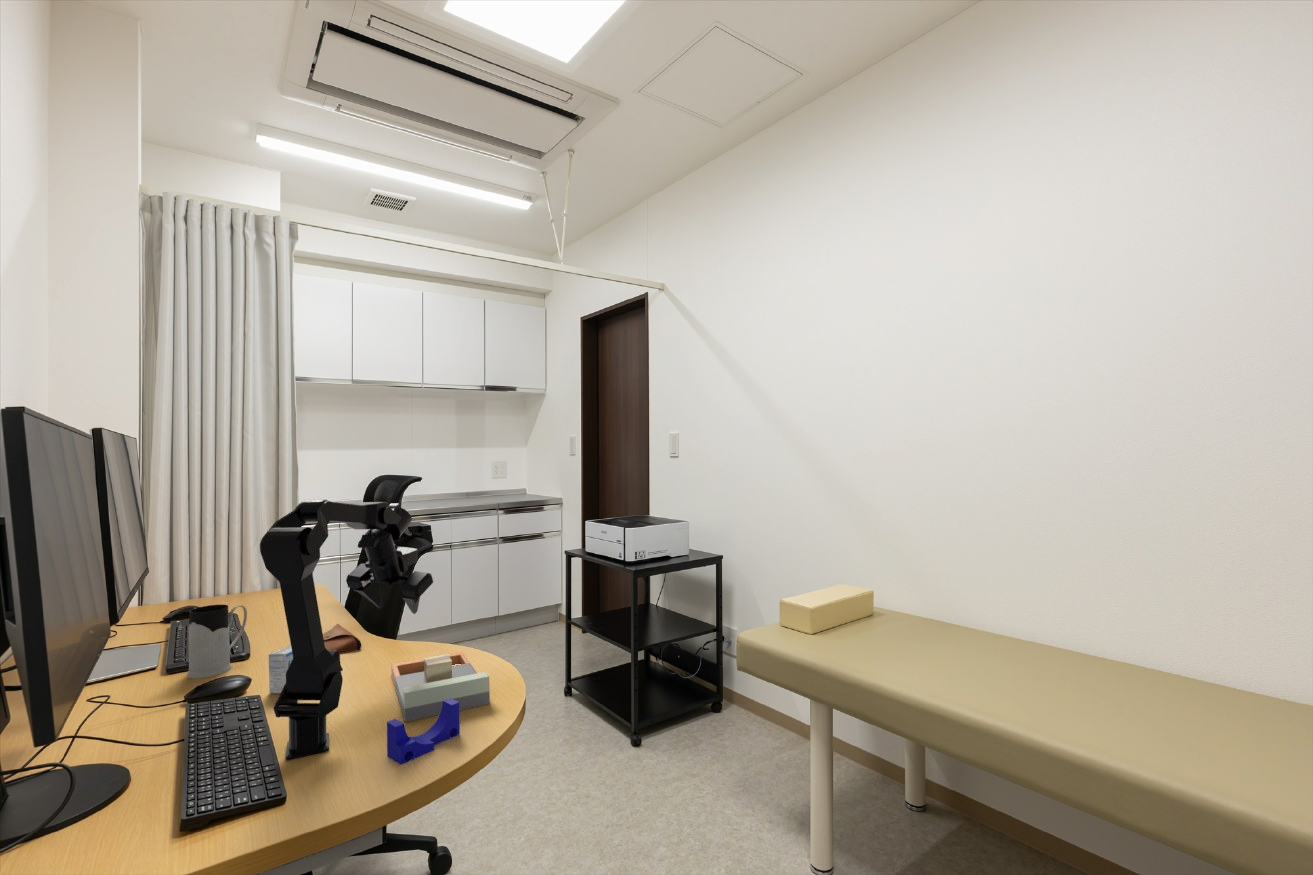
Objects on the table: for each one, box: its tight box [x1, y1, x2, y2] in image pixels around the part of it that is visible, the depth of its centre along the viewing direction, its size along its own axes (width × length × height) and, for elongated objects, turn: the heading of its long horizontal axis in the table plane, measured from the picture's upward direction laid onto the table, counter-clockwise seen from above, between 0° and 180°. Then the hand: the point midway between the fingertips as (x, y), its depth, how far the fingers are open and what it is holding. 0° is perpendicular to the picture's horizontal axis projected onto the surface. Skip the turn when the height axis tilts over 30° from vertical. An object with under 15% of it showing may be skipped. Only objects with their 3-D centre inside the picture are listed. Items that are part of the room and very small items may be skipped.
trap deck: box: [390, 651, 491, 723], centre depth 131 cm, size 28×16×6 cm, turn 29°
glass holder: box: [186, 604, 248, 679], centre depth 147 cm, size 9×14×15 cm, turn 166°
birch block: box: [424, 653, 452, 683], centre depth 131 cm, size 5×5×4 cm
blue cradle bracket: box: [386, 698, 461, 765], centre depth 106 cm, size 12×4×6 cm, turn 141°
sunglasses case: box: [323, 623, 362, 655], centre depth 163 cm, size 18×7×7 cm
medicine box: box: [268, 645, 293, 695], centre depth 134 cm, size 8×4×9 cm, turn 168°
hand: (398, 609), depth 138 cm, fingers open, 9 cm apart
